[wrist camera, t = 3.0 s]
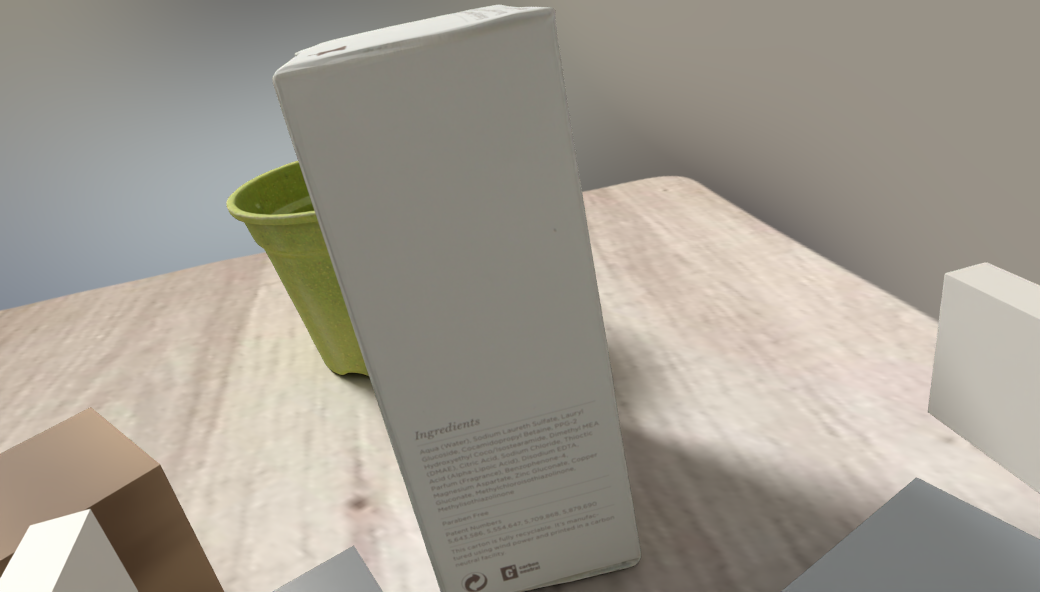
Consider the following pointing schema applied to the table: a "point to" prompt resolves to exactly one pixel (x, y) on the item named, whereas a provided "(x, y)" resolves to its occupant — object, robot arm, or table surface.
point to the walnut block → (103, 501)
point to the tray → (336, 576)
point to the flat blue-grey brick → (927, 550)
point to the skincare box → (471, 288)
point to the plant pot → (300, 260)
